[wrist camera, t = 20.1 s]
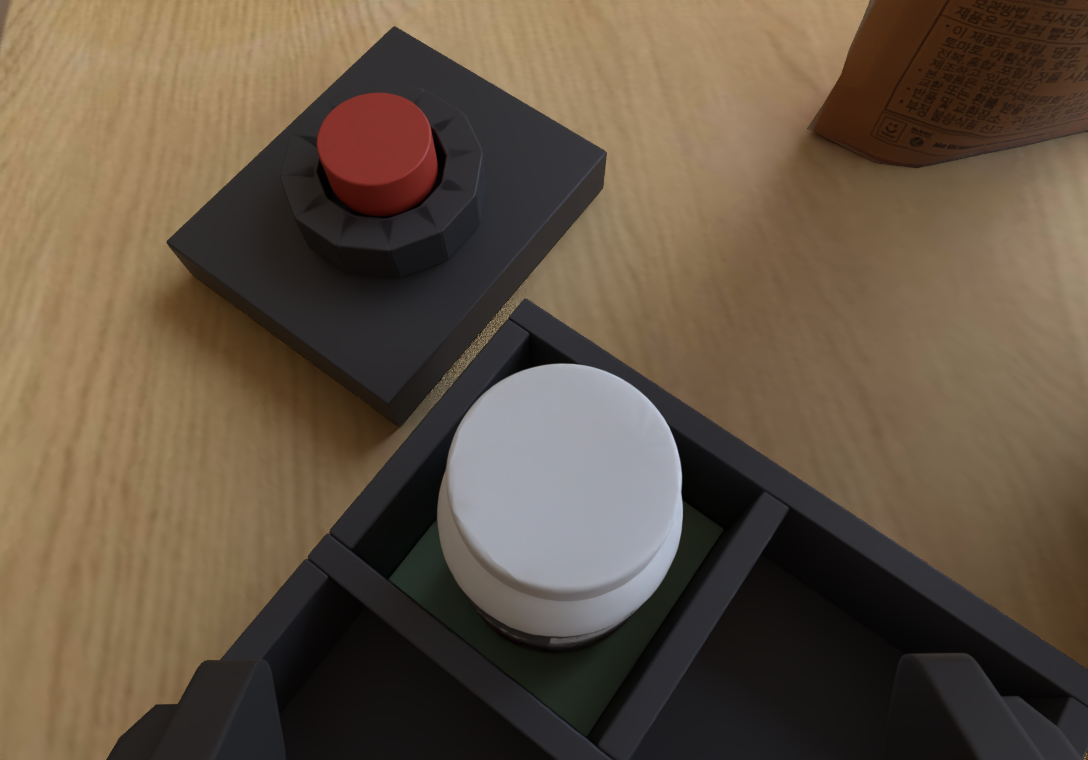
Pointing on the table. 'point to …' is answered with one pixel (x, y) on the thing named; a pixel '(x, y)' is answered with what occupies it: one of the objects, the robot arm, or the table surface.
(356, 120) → the button
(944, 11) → the pancake mix bag
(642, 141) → the table surface
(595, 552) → the pill bottle
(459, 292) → the block
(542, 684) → the black divided tray
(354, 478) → the table surface
